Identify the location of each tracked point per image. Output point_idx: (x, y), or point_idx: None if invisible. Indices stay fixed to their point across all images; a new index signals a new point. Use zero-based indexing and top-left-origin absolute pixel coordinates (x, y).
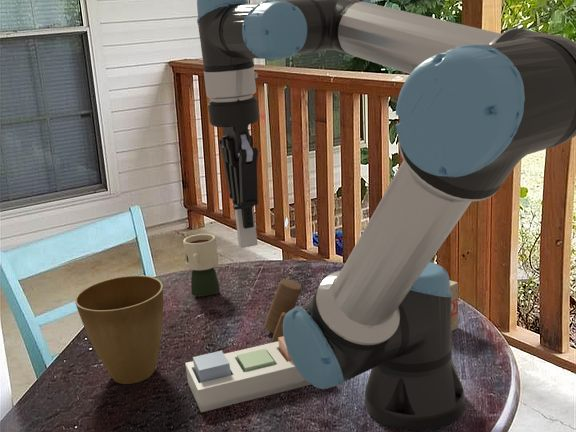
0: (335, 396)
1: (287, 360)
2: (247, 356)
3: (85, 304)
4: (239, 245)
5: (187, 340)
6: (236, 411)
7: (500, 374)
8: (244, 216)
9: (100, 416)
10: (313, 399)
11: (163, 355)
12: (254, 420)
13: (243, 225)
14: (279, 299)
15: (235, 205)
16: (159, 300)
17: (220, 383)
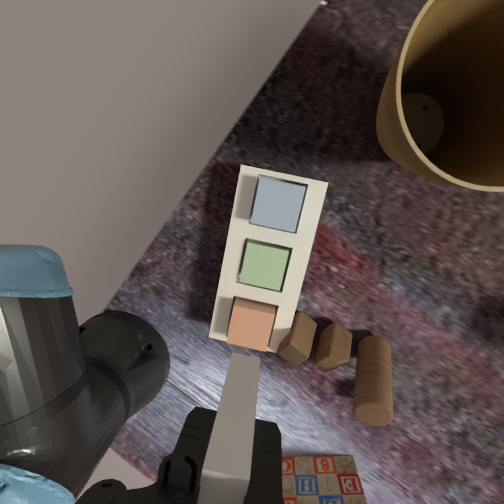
0: (180, 308)
1: (241, 299)
2: (275, 260)
3: None
4: (251, 358)
5: (447, 237)
6: (220, 204)
7: (121, 447)
8: (175, 449)
9: (325, 43)
10: (189, 287)
11: (430, 188)
12: (190, 212)
13: (209, 416)
14: (369, 379)
15: (186, 481)
16: (414, 160)
17: (237, 198)
